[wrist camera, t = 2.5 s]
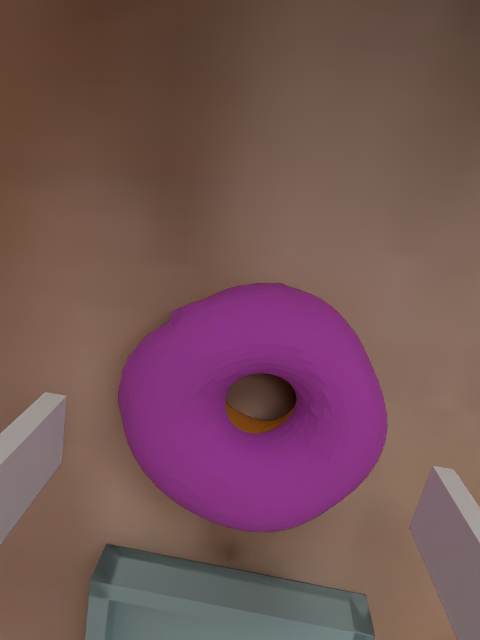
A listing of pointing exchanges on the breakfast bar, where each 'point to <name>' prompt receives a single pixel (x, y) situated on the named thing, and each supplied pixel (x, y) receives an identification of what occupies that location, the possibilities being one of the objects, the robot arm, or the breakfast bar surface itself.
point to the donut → (245, 432)
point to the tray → (213, 603)
